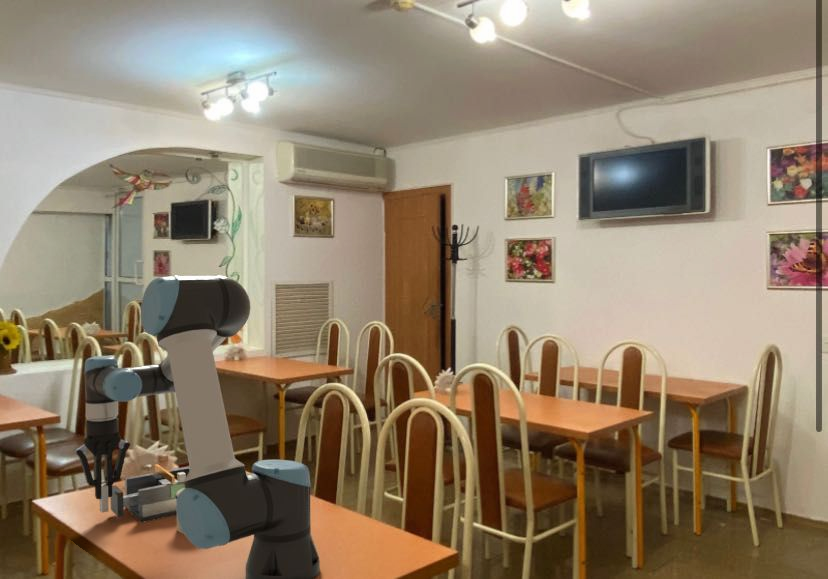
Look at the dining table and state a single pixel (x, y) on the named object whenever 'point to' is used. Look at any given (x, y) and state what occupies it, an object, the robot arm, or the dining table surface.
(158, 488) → the gauge housing
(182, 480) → the marker
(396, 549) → the dining table surface
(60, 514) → the dining table surface
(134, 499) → the grey t-handle block
